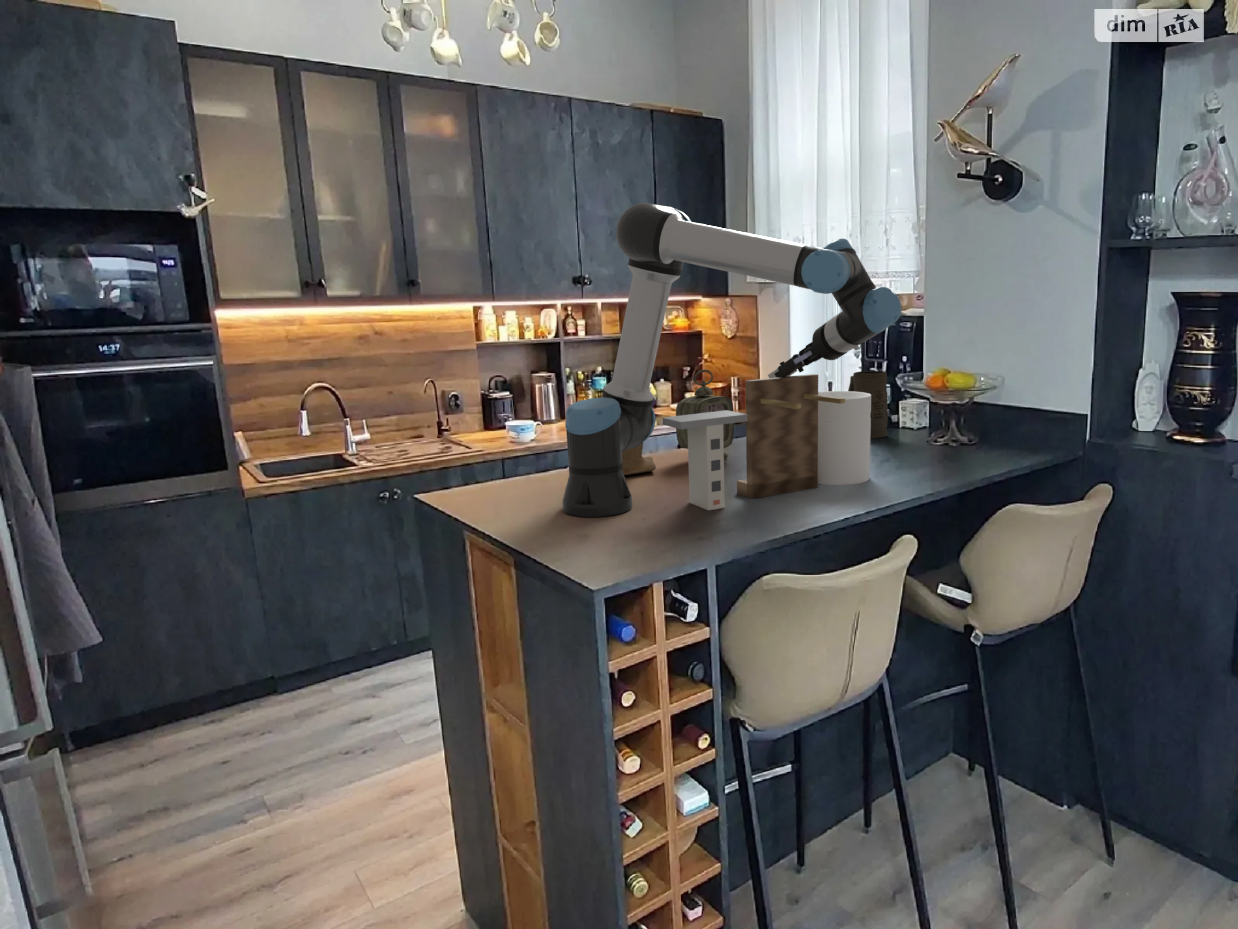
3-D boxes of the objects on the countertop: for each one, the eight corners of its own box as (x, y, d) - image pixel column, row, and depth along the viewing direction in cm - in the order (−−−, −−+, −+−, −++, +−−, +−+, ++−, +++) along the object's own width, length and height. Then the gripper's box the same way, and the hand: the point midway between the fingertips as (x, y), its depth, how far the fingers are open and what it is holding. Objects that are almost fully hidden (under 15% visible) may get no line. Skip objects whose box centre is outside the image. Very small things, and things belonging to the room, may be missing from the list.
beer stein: (896, 435, 244) (895, 369, 241) (871, 440, 239) (869, 372, 236) (858, 433, 257) (856, 370, 254) (834, 437, 252) (831, 373, 249)
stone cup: (611, 482, 199) (608, 422, 196) (595, 473, 210) (592, 417, 207) (666, 475, 205) (665, 416, 202) (647, 467, 216) (645, 411, 213)
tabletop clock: (697, 467, 212) (694, 372, 207) (673, 463, 219) (671, 371, 214) (734, 459, 221) (733, 367, 216) (711, 455, 228) (709, 366, 223)
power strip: (683, 514, 167) (681, 422, 163) (665, 506, 174) (662, 417, 170) (748, 503, 173) (747, 414, 169) (728, 496, 180) (726, 410, 176)
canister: (787, 478, 195) (787, 396, 191) (827, 467, 205) (827, 389, 201) (843, 488, 183) (844, 401, 179) (882, 476, 193) (884, 393, 189)
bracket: (784, 510, 166) (784, 385, 161) (737, 493, 183) (735, 379, 177) (853, 498, 174) (855, 378, 169) (801, 482, 190) (801, 372, 185)
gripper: (823, 364, 160) (760, 403, 181) (869, 341, 166) (803, 381, 187) (804, 332, 160) (744, 375, 181) (851, 309, 167) (787, 353, 188)
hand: (774, 378), depth 184 cm, fingers closed
